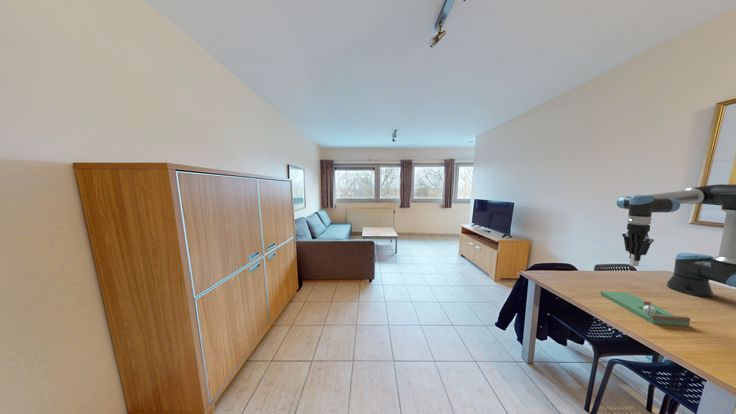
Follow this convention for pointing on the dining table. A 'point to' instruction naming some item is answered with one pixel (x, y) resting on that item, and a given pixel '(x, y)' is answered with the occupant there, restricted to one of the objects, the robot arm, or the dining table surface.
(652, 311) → the ball
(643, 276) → the dining table surface
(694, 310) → the dining table surface
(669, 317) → the green
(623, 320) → the dining table surface
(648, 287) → the dining table surface
